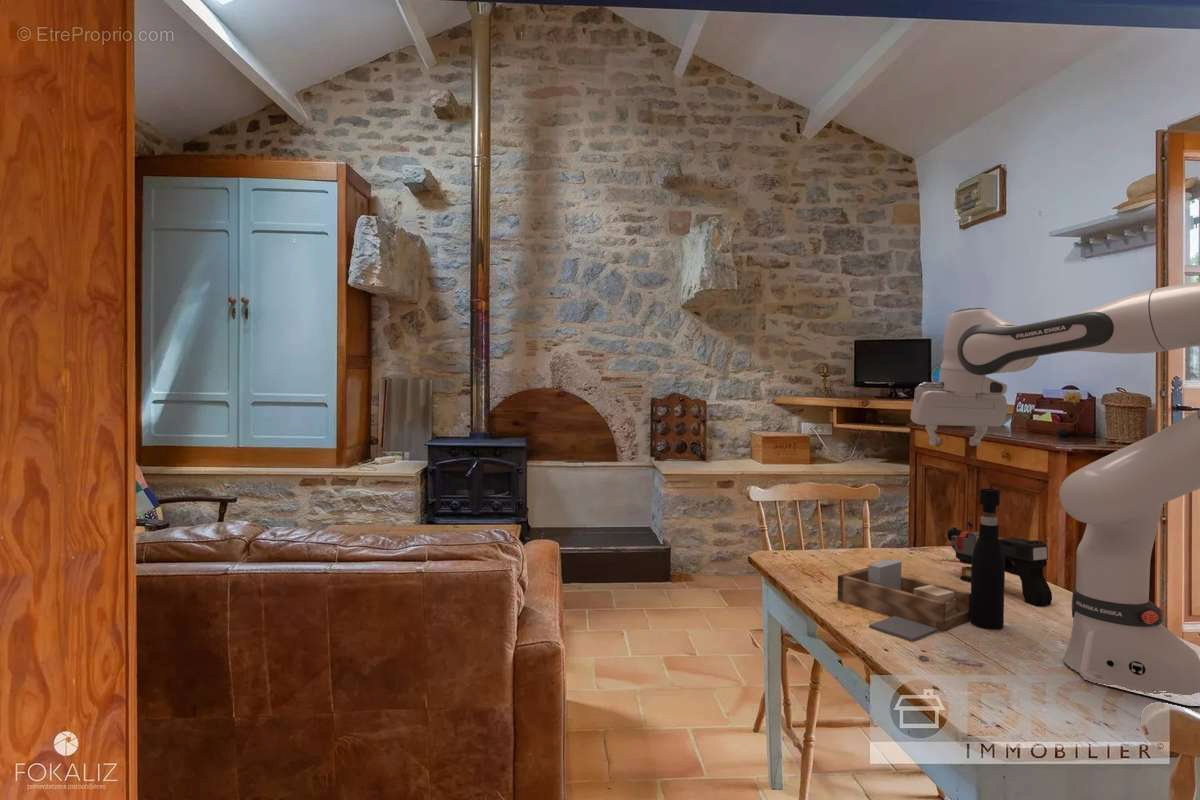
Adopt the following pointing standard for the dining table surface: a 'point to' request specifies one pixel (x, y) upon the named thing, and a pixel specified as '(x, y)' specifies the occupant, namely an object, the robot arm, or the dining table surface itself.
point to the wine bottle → (988, 568)
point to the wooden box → (903, 600)
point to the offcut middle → (950, 606)
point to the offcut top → (935, 593)
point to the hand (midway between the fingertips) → (954, 445)
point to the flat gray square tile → (903, 628)
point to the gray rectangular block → (886, 573)
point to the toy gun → (1010, 562)
